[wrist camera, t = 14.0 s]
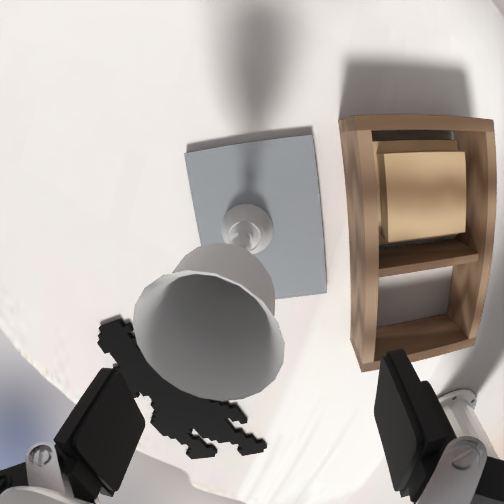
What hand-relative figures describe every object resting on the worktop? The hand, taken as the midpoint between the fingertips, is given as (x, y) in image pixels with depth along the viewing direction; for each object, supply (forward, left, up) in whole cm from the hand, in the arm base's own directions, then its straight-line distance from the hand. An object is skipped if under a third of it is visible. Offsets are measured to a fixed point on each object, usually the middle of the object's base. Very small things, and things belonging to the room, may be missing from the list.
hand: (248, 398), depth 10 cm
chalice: (0, +2, -22) cm, 22 cm away
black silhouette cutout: (-24, +15, -23) cm, 36 cm away
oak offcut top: (+2, -16, -20) cm, 26 cm away
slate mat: (0, 0, -22) cm, 22 cm away
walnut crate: (-3, -16, -22) cm, 27 cm away
